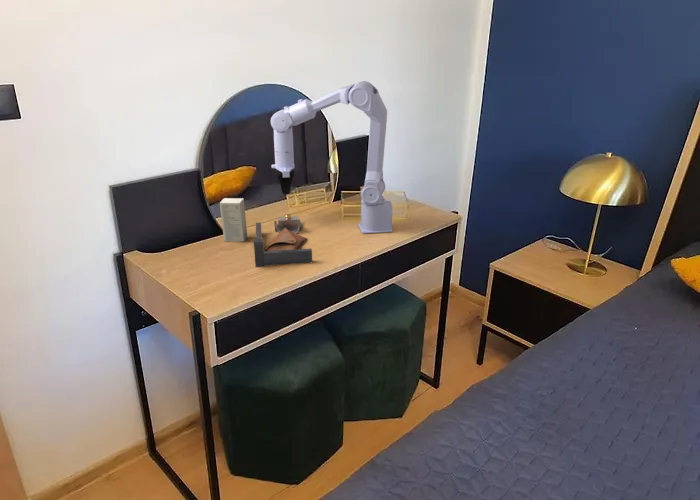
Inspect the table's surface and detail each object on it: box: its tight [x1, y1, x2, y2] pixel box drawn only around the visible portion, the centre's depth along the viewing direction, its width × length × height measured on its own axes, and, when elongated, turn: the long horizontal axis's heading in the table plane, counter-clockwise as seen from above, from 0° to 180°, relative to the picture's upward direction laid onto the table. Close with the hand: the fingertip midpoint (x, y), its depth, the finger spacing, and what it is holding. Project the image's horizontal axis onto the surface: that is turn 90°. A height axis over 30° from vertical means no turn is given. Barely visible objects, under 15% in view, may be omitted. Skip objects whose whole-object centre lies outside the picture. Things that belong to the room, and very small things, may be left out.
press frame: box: [253, 219, 313, 268], centre depth 165 cm, size 15×31×7 cm, turn 9°
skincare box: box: [219, 197, 248, 242], centre depth 167 cm, size 6×4×12 cm
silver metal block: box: [277, 213, 300, 234], centre depth 173 cm, size 6×3×5 cm, turn 99°
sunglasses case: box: [264, 227, 308, 251], centre depth 162 cm, size 18×7×7 cm
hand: (285, 193), depth 178 cm, fingers closed
